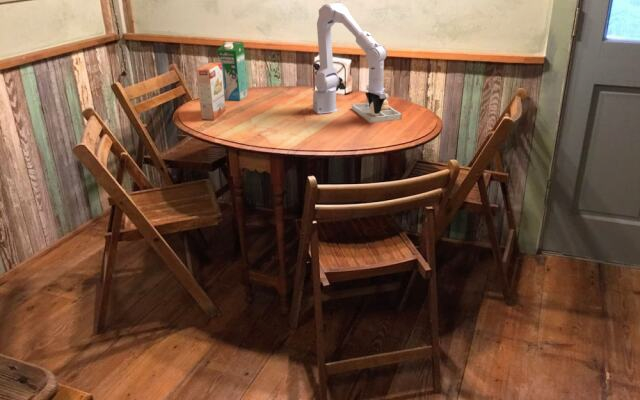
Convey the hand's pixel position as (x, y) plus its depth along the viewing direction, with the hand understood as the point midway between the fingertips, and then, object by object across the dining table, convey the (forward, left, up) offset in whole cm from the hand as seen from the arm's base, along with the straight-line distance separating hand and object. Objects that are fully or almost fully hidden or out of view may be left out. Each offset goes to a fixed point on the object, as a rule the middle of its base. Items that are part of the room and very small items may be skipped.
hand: (375, 111), depth 220 cm
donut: (+13, +22, -2) cm, 26 cm away
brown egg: (+7, +7, -3) cm, 10 cm away
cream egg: (0, 0, -2) cm, 2 cm away
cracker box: (-61, +31, -4) cm, 68 cm away
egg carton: (+3, +7, -4) cm, 8 cm away
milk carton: (-48, +55, -4) cm, 73 cm away
